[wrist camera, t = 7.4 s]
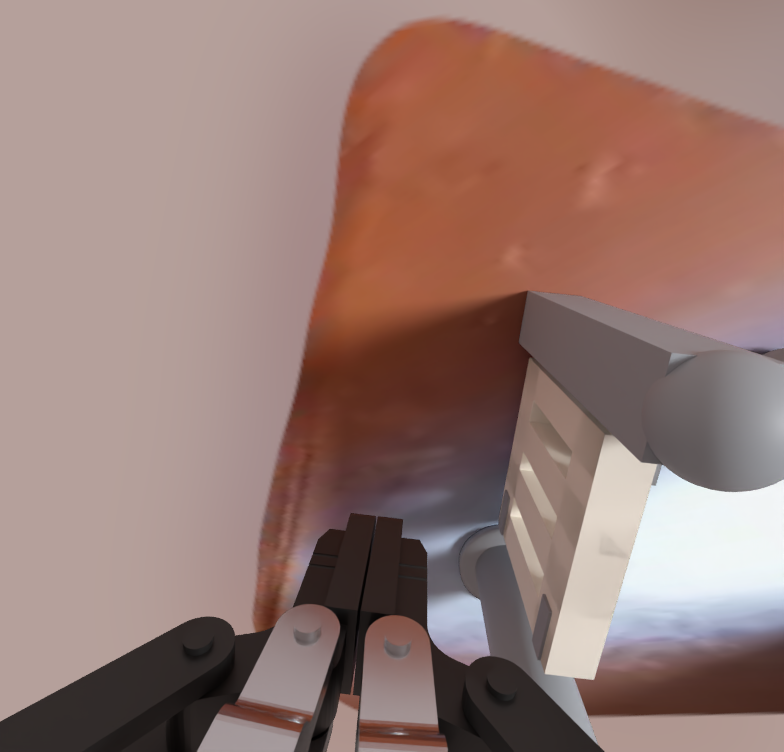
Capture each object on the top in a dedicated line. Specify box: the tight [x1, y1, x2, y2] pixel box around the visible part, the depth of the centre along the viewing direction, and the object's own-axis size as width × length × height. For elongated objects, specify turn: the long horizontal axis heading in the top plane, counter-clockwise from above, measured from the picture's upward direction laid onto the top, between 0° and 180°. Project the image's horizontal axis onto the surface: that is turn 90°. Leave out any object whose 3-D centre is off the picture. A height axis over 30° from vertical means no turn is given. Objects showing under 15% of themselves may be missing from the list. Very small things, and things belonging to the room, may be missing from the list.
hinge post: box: [459, 525, 598, 745], centre depth 18 cm, size 5×5×14 cm
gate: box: [498, 358, 657, 680], centre depth 18 cm, size 8×2×9 cm, turn 174°
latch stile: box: [519, 291, 784, 492], centre depth 15 cm, size 4×6×14 cm
